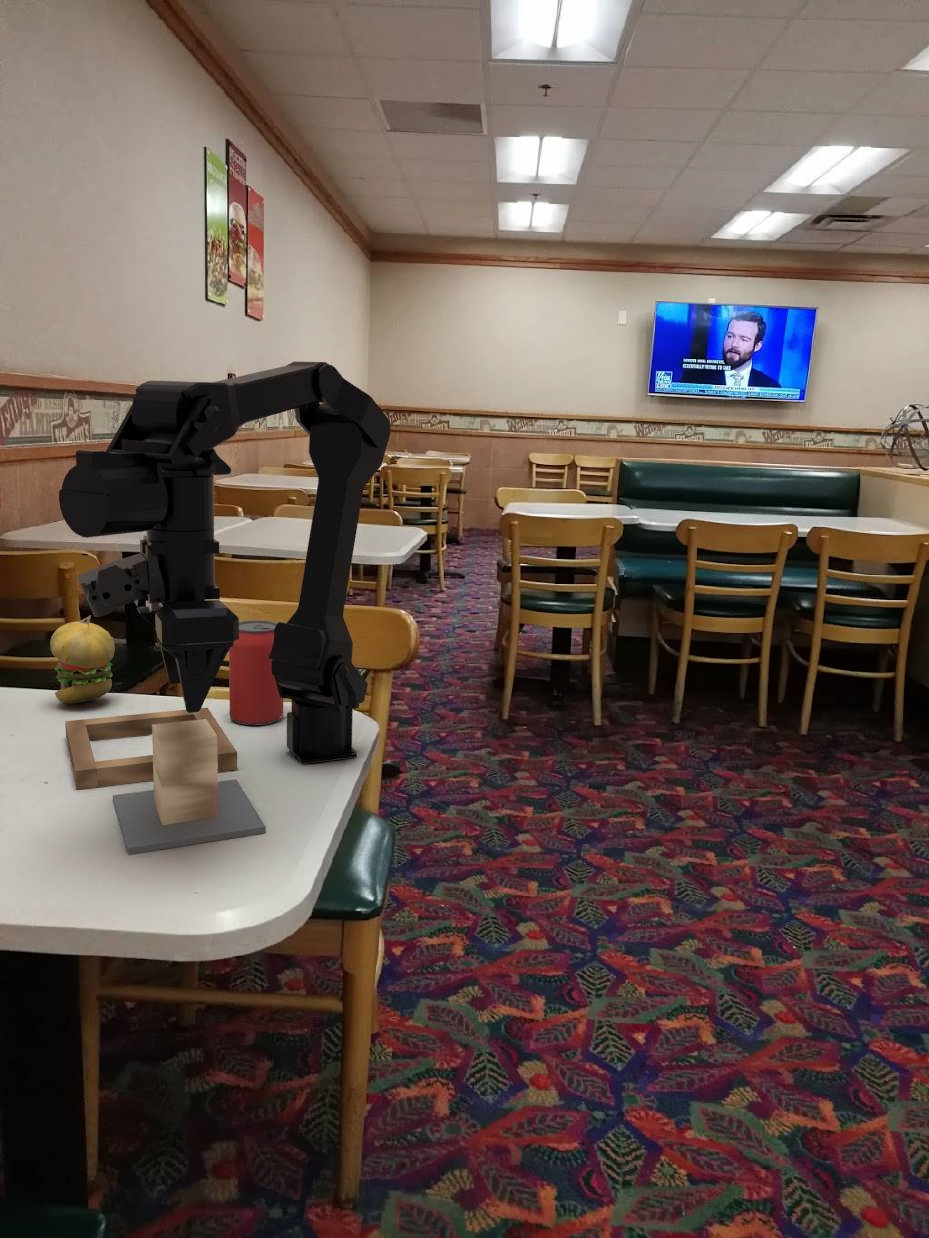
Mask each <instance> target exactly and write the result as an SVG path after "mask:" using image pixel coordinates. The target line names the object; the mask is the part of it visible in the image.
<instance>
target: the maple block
mask: <svg viewBox="0 0 929 1238" xmlns="http://www.w3.org/2000/svg"><path fill="white" fill-rule="evenodd" d="M151 736H152V737H151V738H152V739H151V740H152V755H153V776H154V780H153V790H154V804H155V807H156V810H157V812H158V815H159V817H160V820H161V822H162V825H168V824H175V823H181V822H188V821H195V820H202V819H208V818H215V817H218V781H219V776H218V774H219V772H218V760H217V735H216V733H215V732H214V730H213V729H212V727H211V726H210V724H209V722H208V721H207V719H202V720H192V721H182V722H172V723H162V724H152V735H151Z"/></svg>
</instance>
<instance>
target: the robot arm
mask: <svg viewBox="0 0 929 1238" xmlns="http://www.w3.org/2000/svg"><path fill="white" fill-rule="evenodd" d="M291 410H294V414H295V421H296V422H297V423H298V425H300V427H302V429H303V430H304V431H305V433H307V434H308V435H309V439H308V442H309V443H308V455H309V457H310V460H311V462H312V465H313V468H314V470H315V473H316V476H317V479H318V480H317V487H316V494H315V499H314V505H313V511H312V519H311V525H310V532H309V537H308V542H307V543H308V544H307V550H306V556H305V562H304V568H303V572H302V580H301V585H300V593H299V599H298V605H297V608H296V610H295V611H294V612H293V614H292V615H291V616H290V617H289V619H288V620H287V621H286V622H282V621H278V622H276V623H277V625H276V627H275V629H274V641H273V646H272V650H271V653H270V655H269V659H272V663H271V671H272V675H273V676H274V677H275V681H276V685H277V688H278V692H279V695H280V698H283V700H284V699H288V700H291V711H288V712H287V713H286V748H288V750H289V751H290V752H291V753H292V754H293V755H294V756H295V758H296V759H297V760H298V761H299V762H300V763H301V764H312V763H321V762H329V761H336V760H338V761H339V760H344V759H352V758H353V759H355V758H357V757H358V752H357V751H356V750H355V749H354V747H353V713H354V712H353V710H355V709H356V710H357V709H358V708H360V704H362V703H364V702H365V699H366V695H367V689H368V682H367V681H366V679H365V678H364V677H363V675H362V674H361V673H360V672H359V670H358V669H357V668H356V666H355V665H354V663H352V661H353V649H354V648H353V647H354V646H353V645H354V643H353V640H352V637H351V634H350V632H349V629H348V626H347V623H346V621H345V619H344V609H345V604H346V598H347V592H348V585H349V579H350V573H351V569H352V568H351V567H352V566H351V565H352V562H353V555H354V548H355V543H356V536H357V530H358V524H359V518H360V511H361V507H362V499H363V493H364V489H365V486H366V485H367V484H368V483H369V481H371V479H372V478H373V477H374V475H375V474H376V473H377V471H379V469H380V468H381V467H382V465H383V461H384V457H385V455H386V454H385V453H386V449H387V446H388V443H389V440H390V436H391V425H390V421H389V419H388V417H387V416H386V414H385V413H384V411H383V410H382V407H380V406H379V405H378V404H377V403H376V401H375V400H374V398H373V397H372V396H371V395H370V394H368V393H367V392H365V391H364V390H362V389H360V388H359V387H357V386H356V385H355V384H353V383H352V382H350V381H348V380H346V379H345V378H344V377H343V375H342V374H341V373H340V371H339V370H338V369H337V368H336V367H335V366H334V365H333V364H329V363H328V362H327V361H300V360H299V361H298V360H297V361H292V362H291V363H288V364H287V365H284V366H279V367H276V368H271V369H267V370H262V371H258V372H252V373H249V374H245V375H240V376H235V377H231V378H227V379H226V378H225V379H221V380H218V381H213V382H212V381H211V382H209V381H185V380H184V381H182V380H181V381H180V380H179V381H176V380H147V381H146V382H143V383H141V384H140V385H138V386H137V387H136V388H135V395H134V397H133V398H132V404H131V406H130V407H129V410H128V411H127V412H126V415H125V416H124V418H123V420H122V422H121V424H120V425H119V427H118V429H117V431H116V433H115V434H114V436H113V437H112V440H111V441H110V443H109V445H108V446H107V448H106V451H104V450H96V449H95V450H92V449H77V450H76V451H75V465H74V466H73V467H71V468H70V469H69V470H68V472H67V473H66V474H65V476H64V479H63V480H62V484H61V485H62V486H61V489H60V490H59V491H58V502H59V507H60V511H61V514H62V518H63V519H64V522H65V524H66V525H67V526H68V527H69V529H70V530H71V531H73V533H74V534H76V535H78V536H80V537H82V538H87V539H88V538H94V537H98V538H99V537H105V536H114V535H115V536H116V535H123V534H124V535H125V534H133V533H144V532H146V535H143V539H139V549H140V550H139V551H140V552H139V553H137V554H133V555H131V556H130V555H129V556H127V557H123V558H120V559H116V560H115V561H112V562H109V563H107V564H104V565H102V566H98V567H96V568H93V569H91V570H88V571H86V572H83V573H81V574H79V575H78V576H77V580H78V582H79V585H80V587H81V589H82V591H83V593H84V596H85V598H86V601H87V603H88V605H89V607H90V610H91V612H92V614H93V616H94V617H96V618H98V617H104V616H106V615H109V614H111V613H113V612H114V610H116V609H118V608H121V607H123V606H126V605H129V604H131V603H134V604H135V605H136V610H137V611H138V613H139V614H140V616H141V617H142V618H143V619H144V620H146V621H147V622H148V623H149V624H150V625H151V626H152V627H154V629H155V631H156V632H155V633H156V641H157V643H158V644H159V647H160V651H161V652H160V653H161V654H162V659H163V662H164V667H165V671H166V676H167V679H168V682H169V683H170V684H172V685H175V684H180V687H181V692H182V697H183V702H184V706H185V710H186V711H187V712H188V713H193V712H199V711H200V710H201V708H203V705H204V702H205V701H206V698H207V696H208V694H209V691H210V690H211V688H212V685H213V683H214V682H215V679H216V677H217V675H218V672H219V671H220V668H221V667H222V665H223V663H224V660H225V659H226V657H227V654H229V649H230V647H233V645H234V641H235V640H238V639H239V622H240V618H239V617H238V616H237V614H235V613H234V611H232V610H231V609H230V608H229V607H228V606H226V604H224V603H223V602H222V601H221V600H220V599H221V595H220V591H221V590H220V587H219V586H218V585H217V584H216V579H215V574H216V573H215V571H216V570H215V568H216V566H215V563H216V562H215V555H216V554H220V541H218V540H217V539H216V538H215V500H214V499H215V495H214V494H215V489H214V487H215V486H214V482H215V480H214V479H215V478H214V476H225V475H226V476H227V475H230V474H231V473H232V467H231V466H229V465H228V463H227V462H226V461H224V460H223V459H222V458H221V457H220V456H219V455H218V453H217V451H216V450H215V448H216V447H218V446H219V445H222V444H223V443H225V442H226V441H229V440H230V439H232V438H233V437H235V435H236V434H237V432H238V430H239V429H240V427H242V426H243V425H246V424H247V423H251V422H254V421H256V420H260V419H263V418H267V417H271V416H273V415H277V414H281V413H284V412H288V411H291Z"/></svg>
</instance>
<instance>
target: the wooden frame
mask: <svg viewBox="0 0 929 1238" xmlns="http://www.w3.org/2000/svg"><path fill="white" fill-rule="evenodd" d="M202 719H207V721H208V722H209V724H210V726H211V727H212V729H213V730H214V732H215V733H216V735H217V760H218V773H220V772H221V773H222V772H228V771H229V772H230V771H237V770H238V751H237V750H236V748H235V747H234V745H233V744H232V742H231V740H230V739H229V738H228V736H227V734H226V733H225V732H224V730H223V727H221V725H220V724H219V723H218V722H219V721H217V720H216V718H215V717H214V715H213V713H212V712H211V710H210V709H209V707H201V710H200V711H199V712H193V713H188V712H187V711H186V709H178V710H168V711H157V712H156V711H155V712H148V713H146V712H145V713H137V714H136V713H135V714H125V715H116V716H115V715H114V716H106V717H105V716H104V717H95V718H93V717H92V718H86V719H82V718H81V719H73V720H65V721H64V723H65V724H64V725H65V738H66V745H67V749H68V756H69V761H70V764H71V769H72V775H73V779H74V785H75V789H76V790H77V791H78V790H85V789H94V788H101V787H109V786H117V785H125V784H134V783H142V782H148V781H149V782H151V781H154V776H153V754H150V755H140V756H131V757H124V758H123V757H122V758H116V759H115V758H114V759H107V760H105V759H104V760H98V761H96V758H95V756H94V752H93V748H92V744H91V742H94V741H102V740H112V739H121V738H131V737H140V736H149V735H151V736H152V724H162V723H172V722H182V721H192V720H202Z"/></svg>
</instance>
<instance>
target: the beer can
mask: <svg viewBox="0 0 929 1238" xmlns="http://www.w3.org/2000/svg"><path fill="white" fill-rule="evenodd" d="M277 623H278V622H275V621H271V620H261V619H255V620H253V619H251V620H243V621H239V639H238V640H235V641H234V645H233V647H230V649H229V651H228V666H229V667H228V670H229V671H228V673H229V674H228V677H229V678H228V679H229V680H228V681H229V683H228V684H229V685H228V687H229V688H228V689H229V694H228V695H229V717H230V719H232V720H233V721H234V722H236V723H239V724H241V725H246V726H264V725H268V724H271V723H272V724H273V723H275V722H277V721H279V720H280V719H281V718H282V717H283V715H284V698H280V695H279V692H278V688H277V685H276V681H275V677H274V676H273V675H272V671H271V663H272V659H269V655H270V653H271V650H272V646H273V641H274V629H275V627H276V625H277Z"/></svg>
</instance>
